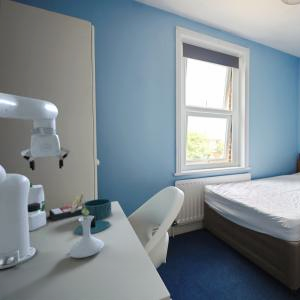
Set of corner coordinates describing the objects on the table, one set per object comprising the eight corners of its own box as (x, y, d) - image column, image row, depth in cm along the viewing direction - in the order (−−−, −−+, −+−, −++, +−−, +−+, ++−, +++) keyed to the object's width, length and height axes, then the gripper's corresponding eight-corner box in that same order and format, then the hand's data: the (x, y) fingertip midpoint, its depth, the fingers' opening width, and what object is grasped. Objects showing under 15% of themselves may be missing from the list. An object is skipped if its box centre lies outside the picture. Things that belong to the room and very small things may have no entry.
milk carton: (22, 219, 112) (19, 183, 110) (44, 215, 118) (42, 180, 117) (23, 224, 106) (20, 185, 104) (46, 219, 112) (44, 183, 111)
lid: (111, 231, 99) (110, 218, 98) (73, 239, 91) (72, 225, 91) (109, 220, 111) (109, 209, 111) (75, 226, 103) (75, 214, 103)
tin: (112, 218, 114) (111, 203, 113) (82, 224, 106) (81, 208, 106) (110, 211, 125) (110, 197, 125) (83, 215, 118) (82, 201, 117)
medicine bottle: (46, 224, 105) (45, 201, 105) (32, 231, 98) (31, 206, 97) (34, 224, 106) (32, 201, 105) (18, 230, 99) (17, 205, 98)
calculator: (86, 207, 120) (53, 213, 109) (86, 214, 121) (53, 221, 109) (80, 203, 127) (49, 208, 116) (80, 210, 128) (49, 216, 116)
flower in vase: (74, 247, 84) (72, 187, 82) (106, 242, 88) (104, 185, 86) (62, 266, 72) (59, 196, 70) (100, 260, 76) (97, 193, 74)
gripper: (17, 131, 87) (19, 172, 88) (68, 132, 97) (70, 168, 98) (21, 131, 93) (23, 169, 94) (69, 132, 103) (70, 166, 104)
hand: (47, 169), depth 96 cm, fingers open, 9 cm apart
